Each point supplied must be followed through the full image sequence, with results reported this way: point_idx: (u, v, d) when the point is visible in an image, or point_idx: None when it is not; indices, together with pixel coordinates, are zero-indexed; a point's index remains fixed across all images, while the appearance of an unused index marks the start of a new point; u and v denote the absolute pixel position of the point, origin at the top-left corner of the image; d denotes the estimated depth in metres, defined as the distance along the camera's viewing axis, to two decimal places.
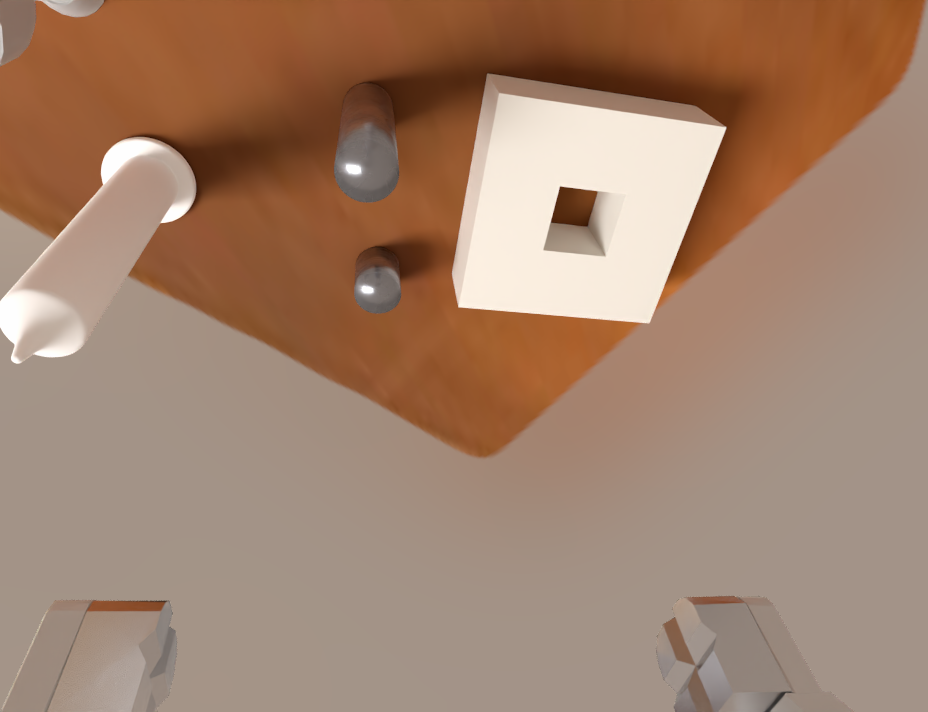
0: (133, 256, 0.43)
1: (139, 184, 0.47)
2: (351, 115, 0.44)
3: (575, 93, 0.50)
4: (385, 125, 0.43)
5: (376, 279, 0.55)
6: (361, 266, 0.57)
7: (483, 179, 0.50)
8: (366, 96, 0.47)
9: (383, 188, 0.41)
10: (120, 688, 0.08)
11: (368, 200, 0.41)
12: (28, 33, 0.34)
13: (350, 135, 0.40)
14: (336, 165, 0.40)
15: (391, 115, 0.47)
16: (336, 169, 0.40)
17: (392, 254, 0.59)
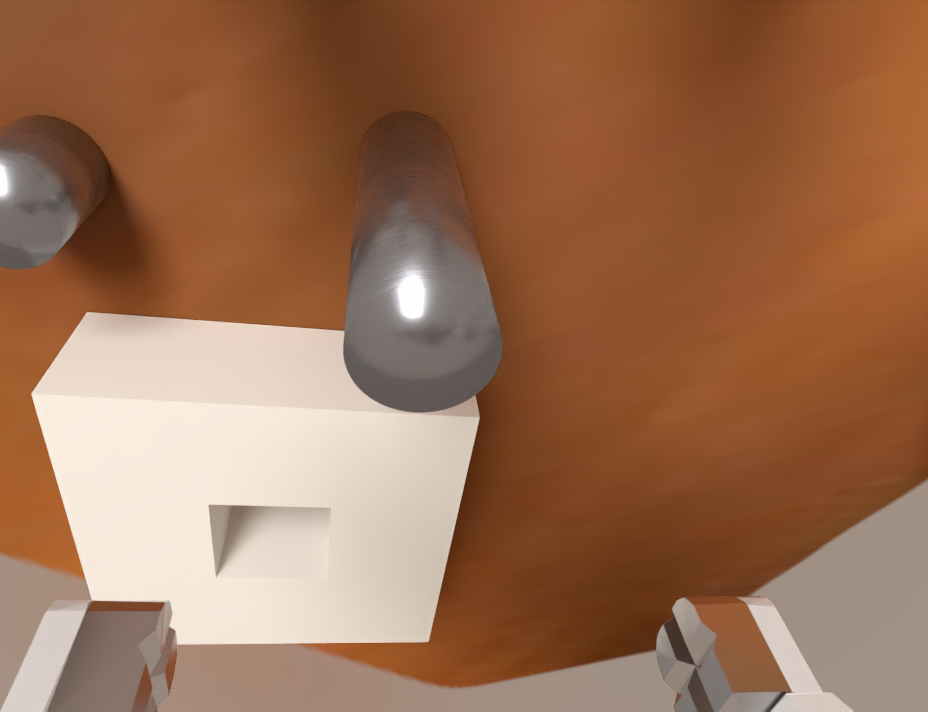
0: None
1: None
2: (468, 215, 0.21)
3: None
4: None
5: (41, 214, 0.22)
6: (57, 155, 0.23)
7: (331, 410, 0.27)
8: None
9: (382, 384, 0.17)
10: (120, 688, 0.08)
11: (348, 355, 0.16)
12: None
13: (487, 286, 0.17)
14: (441, 288, 0.15)
15: None
16: (430, 288, 0.15)
17: (100, 202, 0.27)
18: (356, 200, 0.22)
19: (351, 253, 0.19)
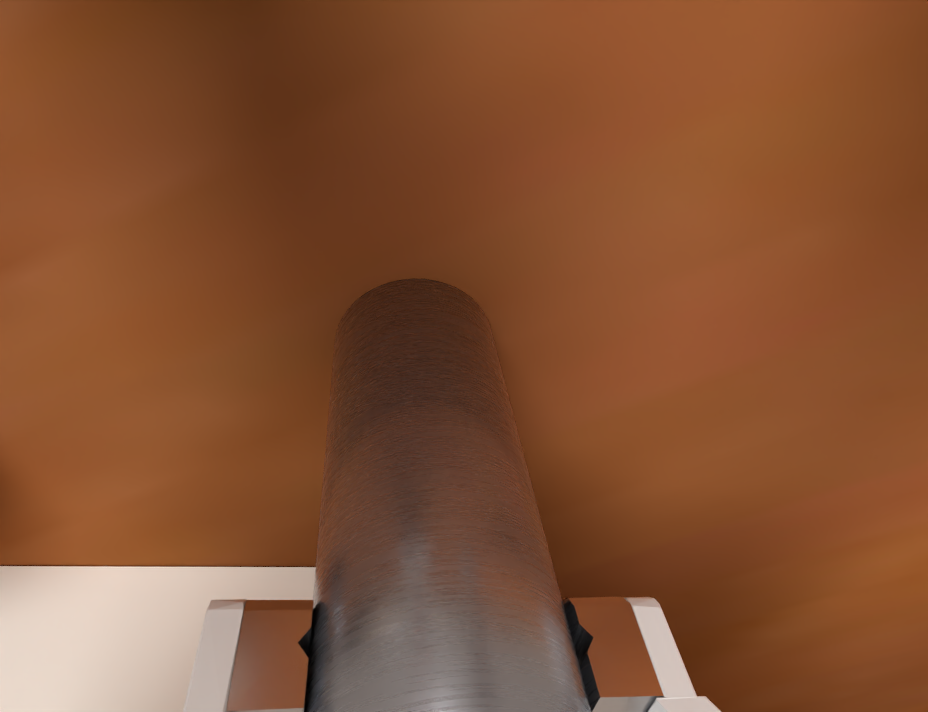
0: None
1: None
2: (557, 598, 0.10)
3: None
4: None
5: None
6: None
7: None
8: None
9: None
10: (289, 683, 0.08)
11: None
12: None
13: None
14: None
15: None
16: None
17: None
18: (321, 517, 0.11)
19: None
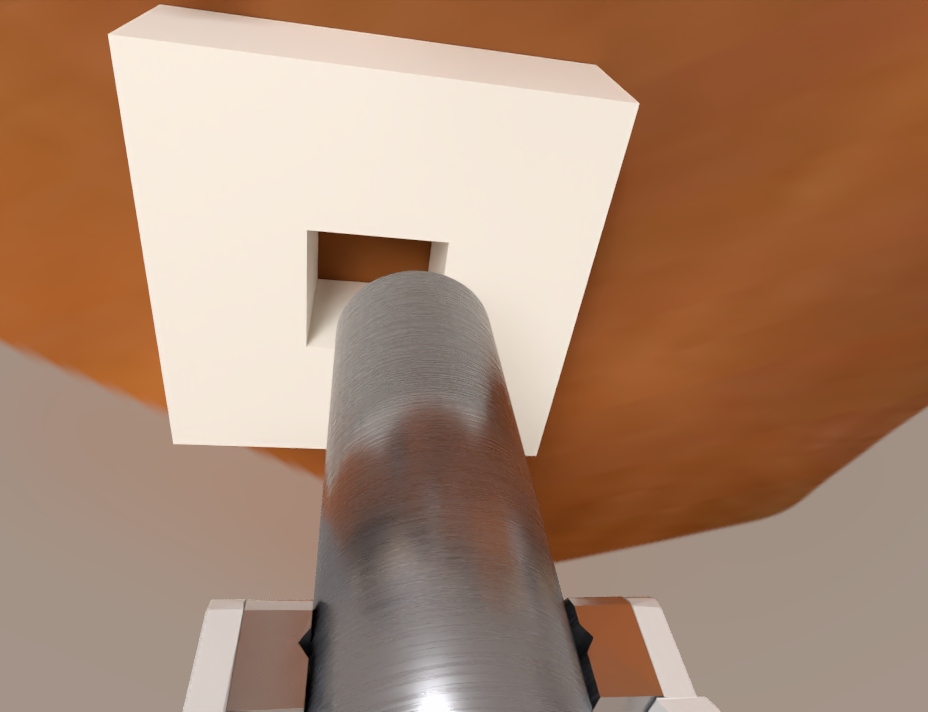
0: None
1: None
2: (553, 575, 0.10)
3: None
4: None
5: None
6: None
7: (465, 82, 0.23)
8: None
9: None
10: (289, 683, 0.08)
11: None
12: None
13: None
14: None
15: None
16: None
17: None
18: (323, 499, 0.11)
19: None
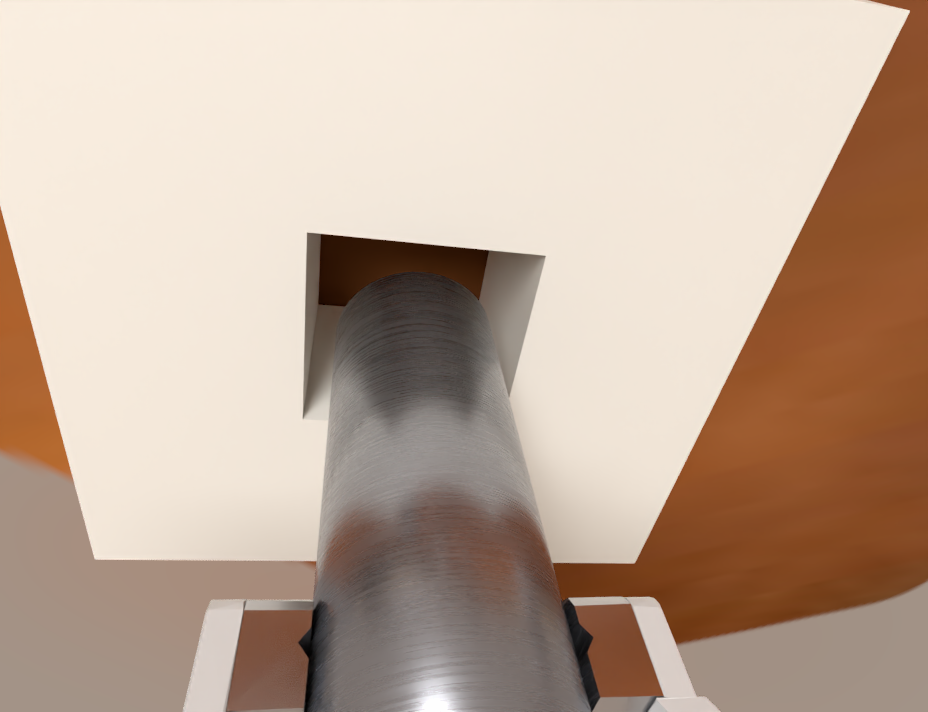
0: None
1: None
2: (552, 576, 0.10)
3: None
4: None
5: None
6: None
7: None
8: None
9: None
10: (289, 683, 0.08)
11: None
12: None
13: None
14: None
15: None
16: None
17: None
18: (323, 500, 0.12)
19: None
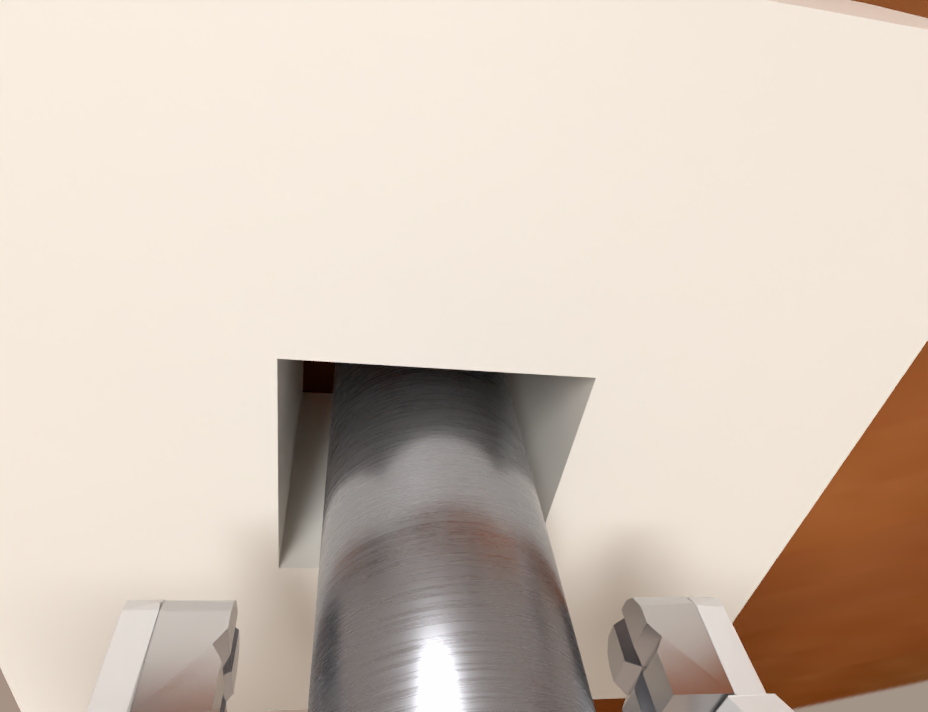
0: None
1: None
2: (541, 520, 0.11)
3: None
4: None
5: None
6: None
7: None
8: None
9: None
10: (199, 686, 0.08)
11: None
12: None
13: None
14: None
15: None
16: None
17: None
18: (329, 456, 0.12)
19: (314, 642, 0.09)
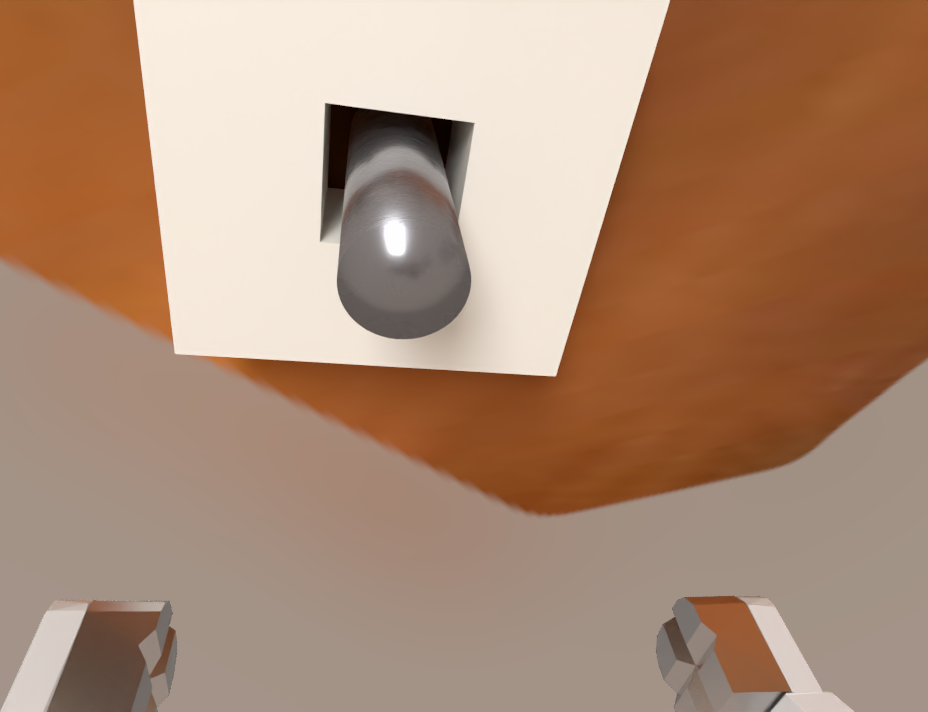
0: None
1: None
2: (445, 177, 0.24)
3: None
4: None
5: None
6: None
7: None
8: None
9: (370, 313, 0.20)
10: (120, 688, 0.08)
11: (341, 286, 0.19)
12: None
13: (458, 230, 0.20)
14: (418, 226, 0.18)
15: None
16: (409, 226, 0.18)
17: None
18: (347, 167, 0.25)
19: (343, 208, 0.22)
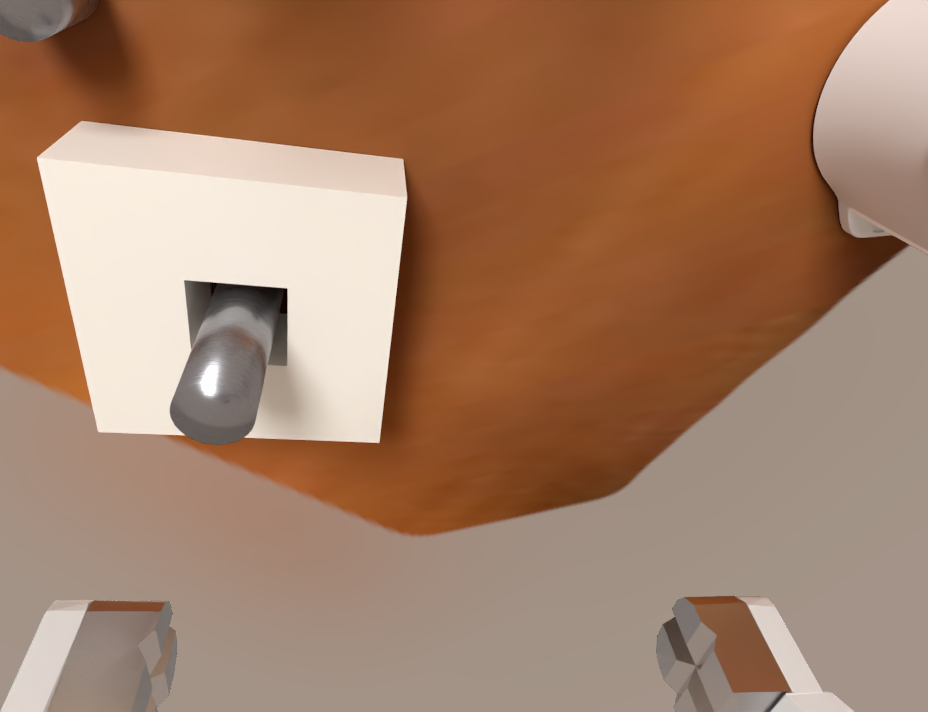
0: None
1: None
2: (263, 328, 0.36)
3: None
4: None
5: None
6: None
7: (283, 185, 0.33)
8: (278, 306, 0.40)
9: (194, 430, 0.32)
10: (120, 688, 0.08)
11: (173, 417, 0.31)
12: None
13: (252, 378, 0.33)
14: (214, 385, 0.31)
15: None
16: (209, 385, 0.31)
17: (92, 11, 0.33)
18: None
19: None
